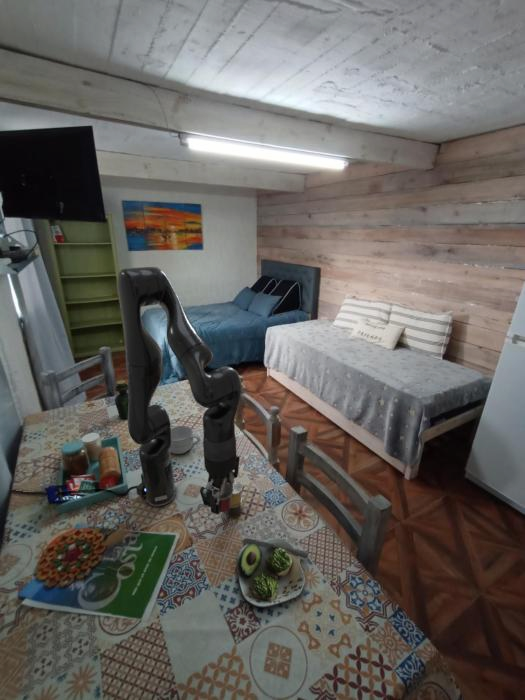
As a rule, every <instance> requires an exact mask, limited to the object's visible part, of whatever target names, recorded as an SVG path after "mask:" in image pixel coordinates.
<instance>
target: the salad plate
mask: <svg viewBox="0 0 525 700" xmlns="http://www.w3.org/2000/svg"><path fill="white" fill-rule="evenodd" d="M241 543H242V548H241V549H240V550H239V552H238V554H237V556H236V562H235V563H236V572H237V579H238V583H239V591H240V594H241V598H242V599H243V600H244V601H245V602H246V603H247V604H248V605H250V606H252V607H254V608H257V609H271V608H272V607H274V606H276V605H280V604H283V603H286V602H288V601H291V600H293V599H295V598H297V597H299V596H300V594H302V592H303V591H304V588H305V586H306V582H307V581H306V576H305V573H304V570H303V568H302V565H301V560H302V559H303V560H304V559H307V558H308V557H309V552H308V551H306V550H300V549H295V548H294V546H293V545H292V544H291V543H290V542H289V541H288V540H286V539H284V538H282V537H272V538H269V539H264V540H256V539H252V538H244V539H243V540H241Z"/></svg>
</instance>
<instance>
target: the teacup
mask: <svg viewBox="0 0 525 700" xmlns="http://www.w3.org/2000/svg"><path fill="white" fill-rule="evenodd" d="M193 433H194V430H193V428H192V427H191V426H189V425H188V426H187V425H176V426H173V427H171V447H170V452H171V453H172V454H176V455H182V454H185V453H187V452H188V451H189V450H191V449H192V448H194V446H197V445H199V444H200V442H201V437H200V435H198V434H193ZM194 438H195V439H196V440H197V441H195V442H194Z"/></svg>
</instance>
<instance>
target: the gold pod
mask: <svg viewBox="0 0 525 700" xmlns="http://www.w3.org/2000/svg"><path fill="white" fill-rule="evenodd" d="M242 491H243V483H242V482H241V481H239V480H236V479H234V484H233V495H232V505H237V504H239V503H240V501H241V496H242Z"/></svg>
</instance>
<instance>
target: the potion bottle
mask: <svg viewBox="0 0 525 700" xmlns="http://www.w3.org/2000/svg"><path fill="white" fill-rule="evenodd" d="M126 381H127V380H126V379H120V380H117V381H116V386H115V391H116V392H118V394H117V395H116V396H115V398H114V404H115V407H116V410H117V413H118V416H119V418H120V419H121V420H128V402H129V395H128V383H126Z"/></svg>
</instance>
